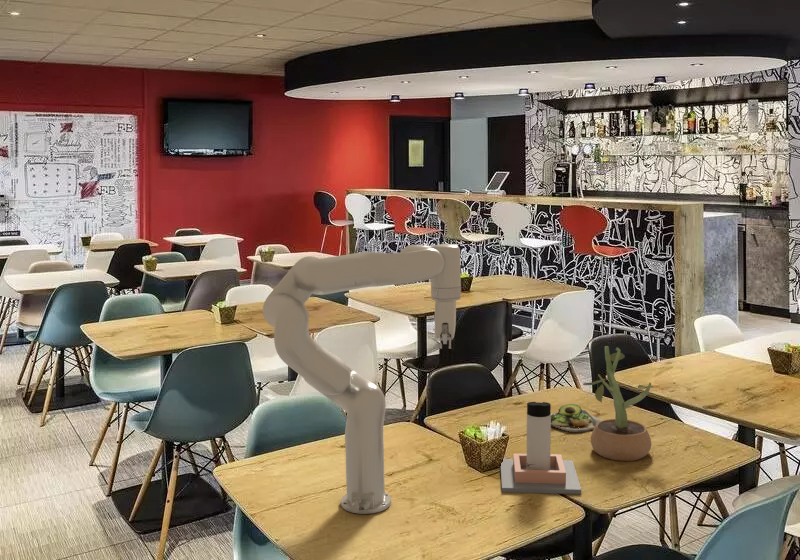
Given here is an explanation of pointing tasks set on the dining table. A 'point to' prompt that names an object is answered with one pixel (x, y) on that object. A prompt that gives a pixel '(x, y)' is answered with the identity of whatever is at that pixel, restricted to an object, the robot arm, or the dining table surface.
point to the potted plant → (619, 420)
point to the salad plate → (573, 419)
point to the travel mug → (538, 435)
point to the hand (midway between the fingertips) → (446, 359)
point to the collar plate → (539, 476)
